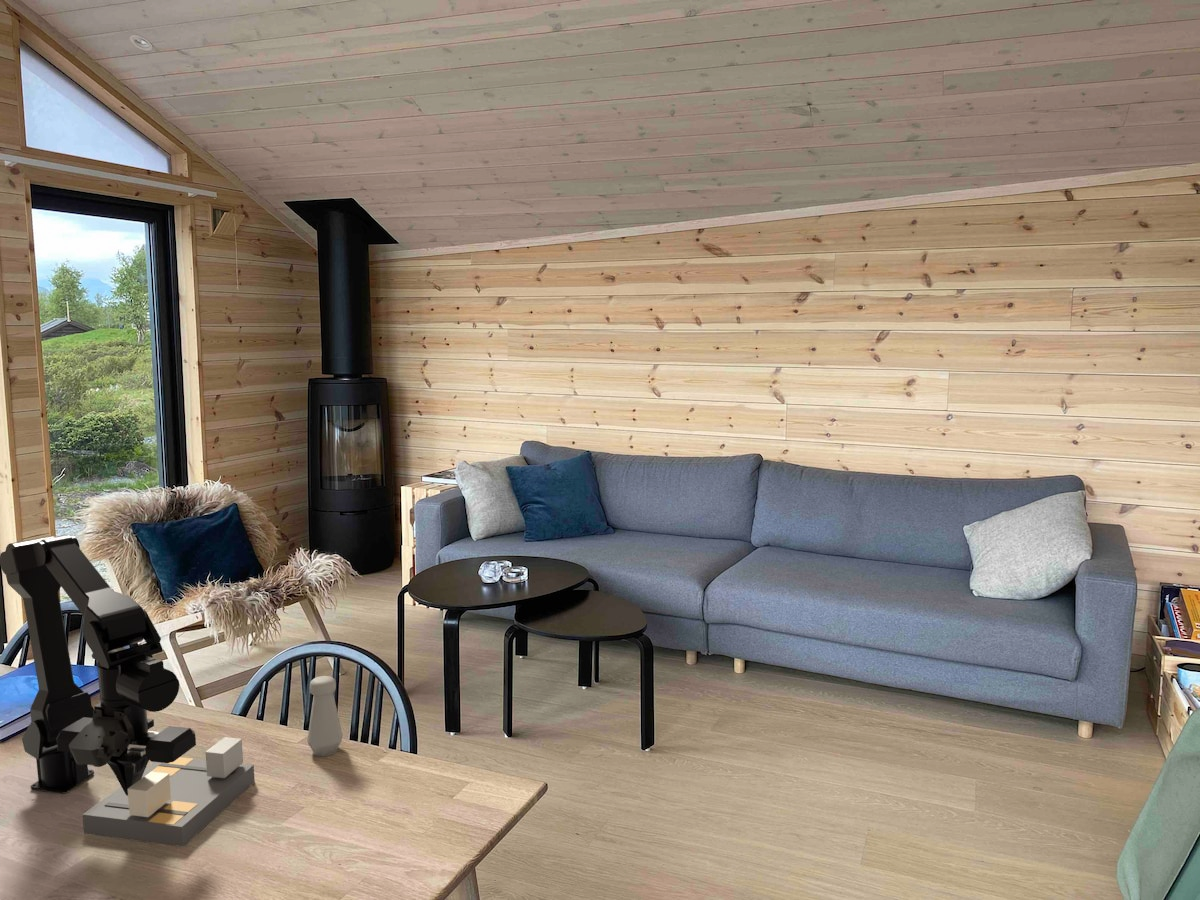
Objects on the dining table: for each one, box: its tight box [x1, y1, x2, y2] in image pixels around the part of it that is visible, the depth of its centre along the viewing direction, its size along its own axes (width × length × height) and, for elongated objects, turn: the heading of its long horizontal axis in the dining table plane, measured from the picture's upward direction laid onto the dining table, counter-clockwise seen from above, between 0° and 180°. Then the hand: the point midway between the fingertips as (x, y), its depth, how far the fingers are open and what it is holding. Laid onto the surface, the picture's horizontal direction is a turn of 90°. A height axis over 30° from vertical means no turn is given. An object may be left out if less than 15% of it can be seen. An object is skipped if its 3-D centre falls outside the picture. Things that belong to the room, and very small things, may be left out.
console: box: [82, 756, 256, 847], centre depth 139 cm, size 16×18×3 cm
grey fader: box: [205, 736, 244, 778], centre depth 144 cm, size 3×5×4 cm, turn 169°
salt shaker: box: [307, 675, 343, 757], centre depth 156 cm, size 6×6×13 cm
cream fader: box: [128, 772, 171, 817], centre depth 133 cm, size 3×5×4 cm, turn 169°
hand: (131, 794), depth 133 cm, fingers closed
